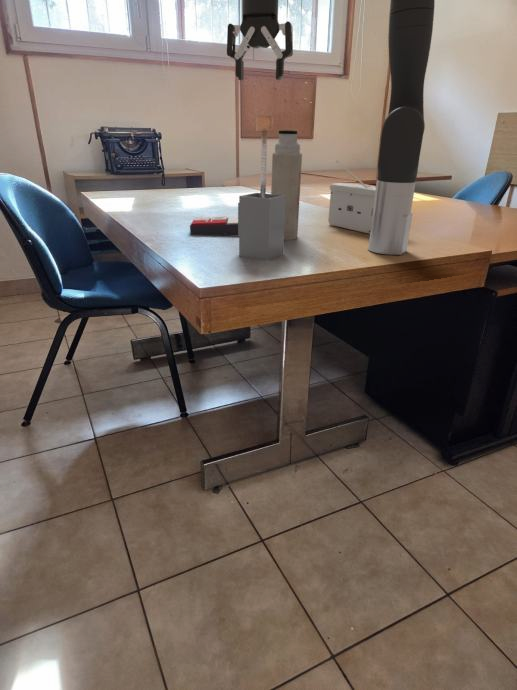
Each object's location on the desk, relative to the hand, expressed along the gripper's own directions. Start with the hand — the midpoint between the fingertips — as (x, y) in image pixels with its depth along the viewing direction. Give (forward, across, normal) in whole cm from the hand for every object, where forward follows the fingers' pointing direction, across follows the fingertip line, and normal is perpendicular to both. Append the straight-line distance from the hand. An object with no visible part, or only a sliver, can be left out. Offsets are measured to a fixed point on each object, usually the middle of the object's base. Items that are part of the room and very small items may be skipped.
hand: (259, 79), depth 101 cm
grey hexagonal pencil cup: (+38, -1, +5) cm, 38 cm away
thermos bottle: (+38, -4, -17) cm, 42 cm away
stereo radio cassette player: (+38, -24, -36) cm, 58 cm away
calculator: (+38, +17, -19) cm, 46 cm away
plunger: (+27, -2, +5) cm, 28 cm away
